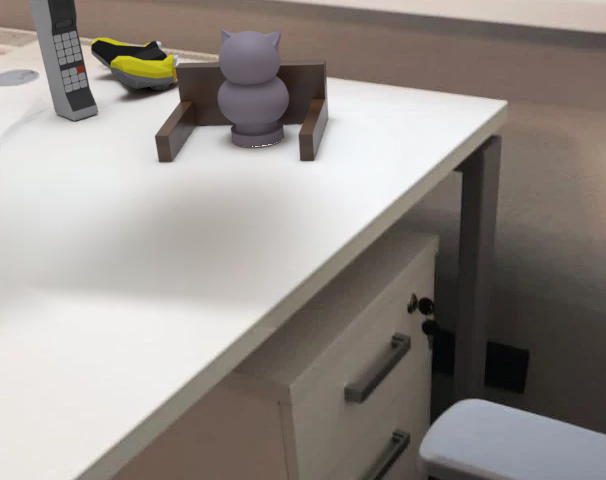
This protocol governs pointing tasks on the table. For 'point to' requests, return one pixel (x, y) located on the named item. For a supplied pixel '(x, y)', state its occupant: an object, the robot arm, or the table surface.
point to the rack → (205, 111)
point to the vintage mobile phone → (63, 58)
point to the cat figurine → (252, 87)
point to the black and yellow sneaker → (137, 63)
